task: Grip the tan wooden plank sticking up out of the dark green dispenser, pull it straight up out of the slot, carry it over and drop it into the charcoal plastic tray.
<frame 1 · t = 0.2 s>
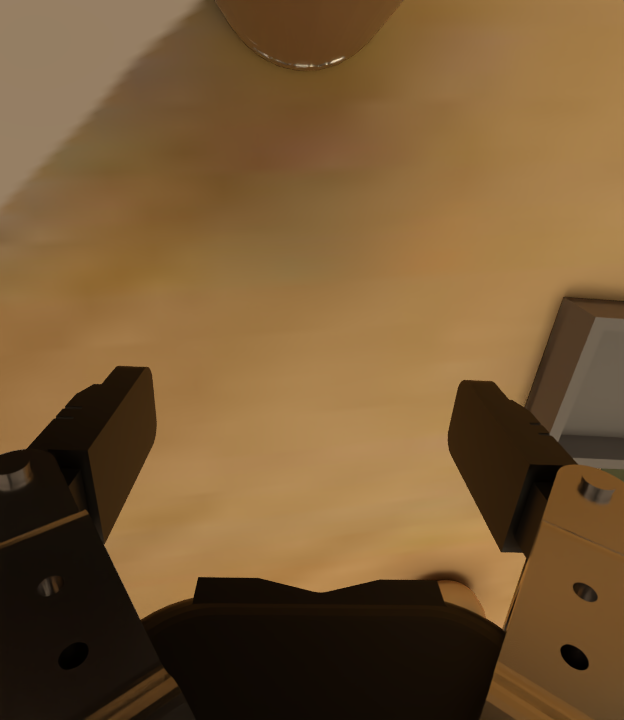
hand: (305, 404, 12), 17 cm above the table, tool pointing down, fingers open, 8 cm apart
plastic bottle: (437, 591, 42), on the table
tray: (618, 376, 32), on the table
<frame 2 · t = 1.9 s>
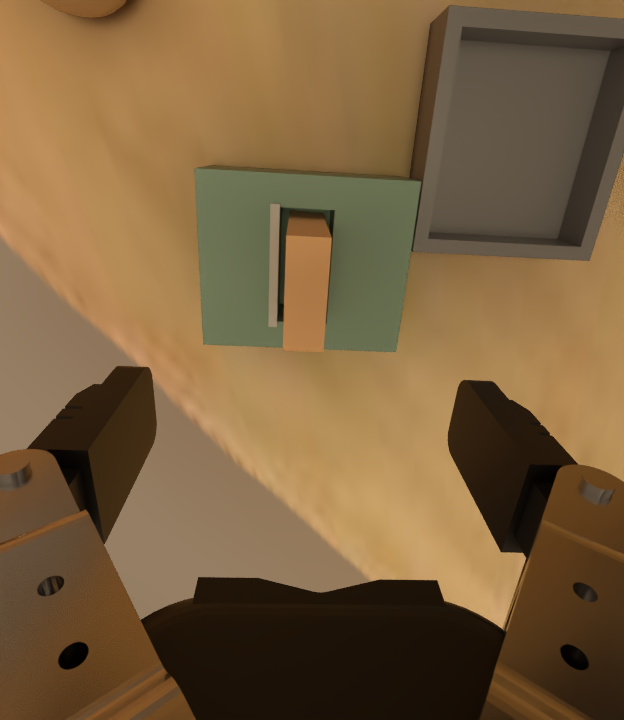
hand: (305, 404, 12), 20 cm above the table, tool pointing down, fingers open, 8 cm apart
dispenser: (303, 251, 30), on the table
tan wooden plank: (303, 255, 29), point 1 cm above the table, touching dispenser
tray: (501, 147, 28), on the table
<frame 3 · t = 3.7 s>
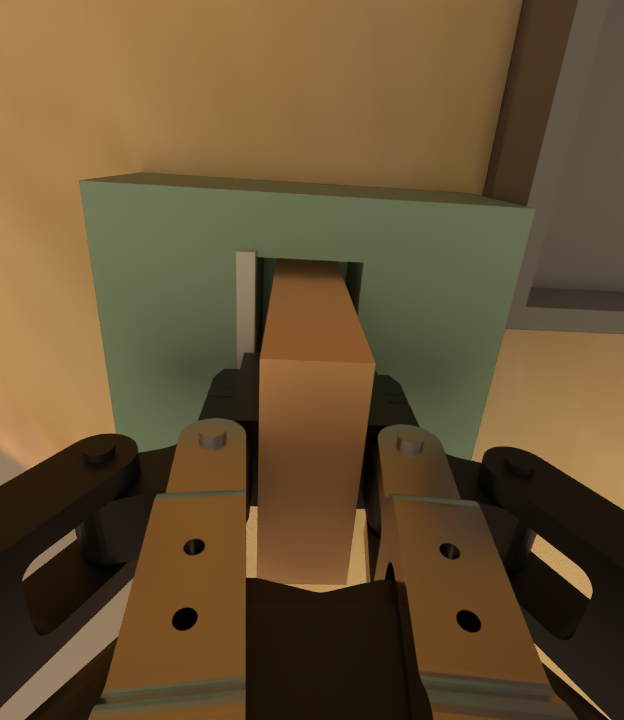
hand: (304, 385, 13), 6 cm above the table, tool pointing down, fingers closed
dispenser: (301, 313, 18), on the table
tan wooden plank: (302, 326, 17), point 1 cm above the table, touching dispenser, gripper
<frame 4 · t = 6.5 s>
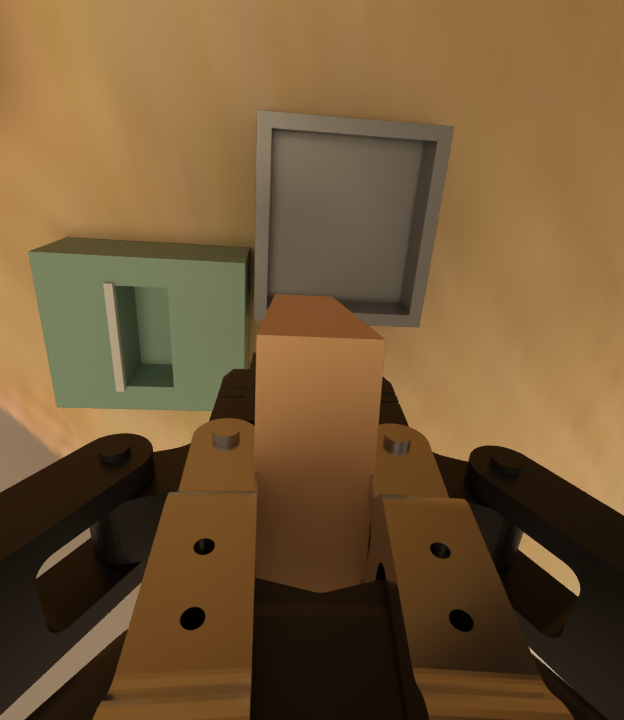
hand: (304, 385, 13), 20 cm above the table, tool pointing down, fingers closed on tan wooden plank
dispenser: (164, 313, 32), on the table
tan wooden plank: (300, 371, 16), point 17 cm above the table, tilted 12°, touching gripper
tray: (339, 222, 30), on the table
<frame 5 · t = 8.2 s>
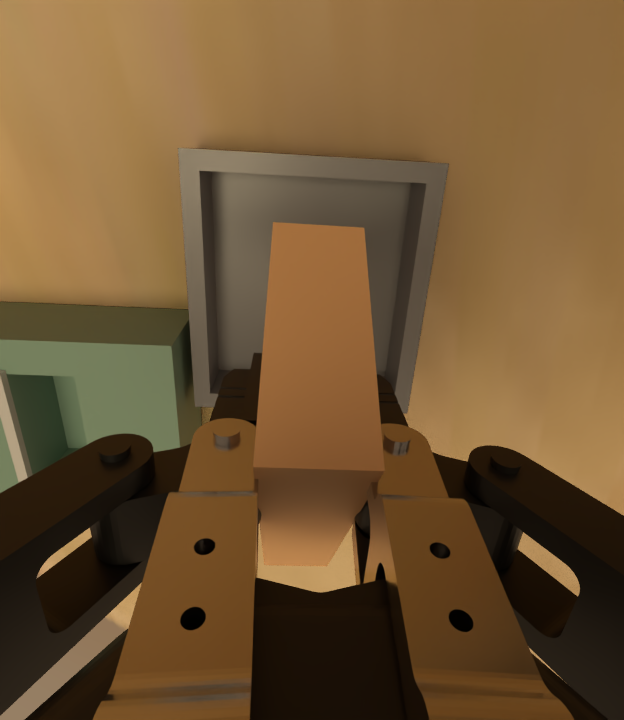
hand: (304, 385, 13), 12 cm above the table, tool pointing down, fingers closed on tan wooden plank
dispenser: (96, 386, 26), on the table
tan wooden plank: (297, 480, 16), point 11 cm above the table, tilted 58°, touching gripper
tray: (306, 278, 24), on the table
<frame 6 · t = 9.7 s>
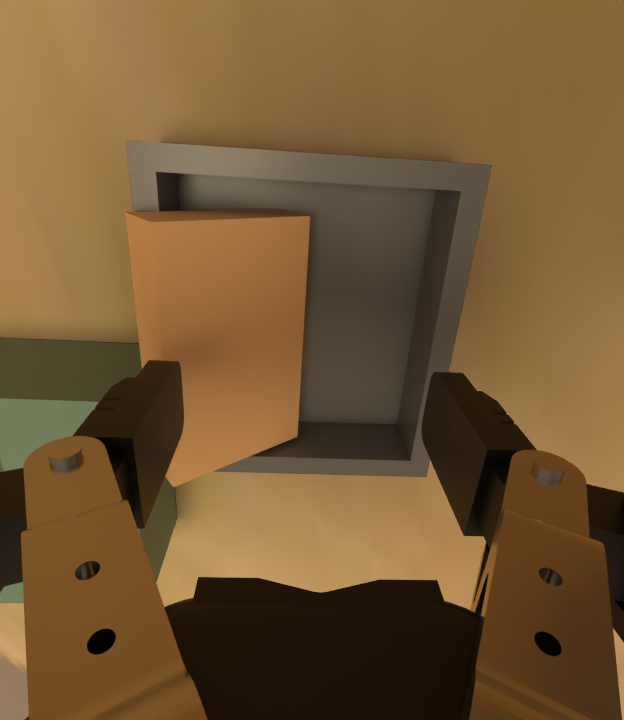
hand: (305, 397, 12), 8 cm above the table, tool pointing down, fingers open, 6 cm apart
dispenser: (42, 435, 21), on the table
tan wooden plank: (228, 447, 18), point 3 cm above the table, tilted 90°, touching tray
tray: (301, 307, 19), on the table
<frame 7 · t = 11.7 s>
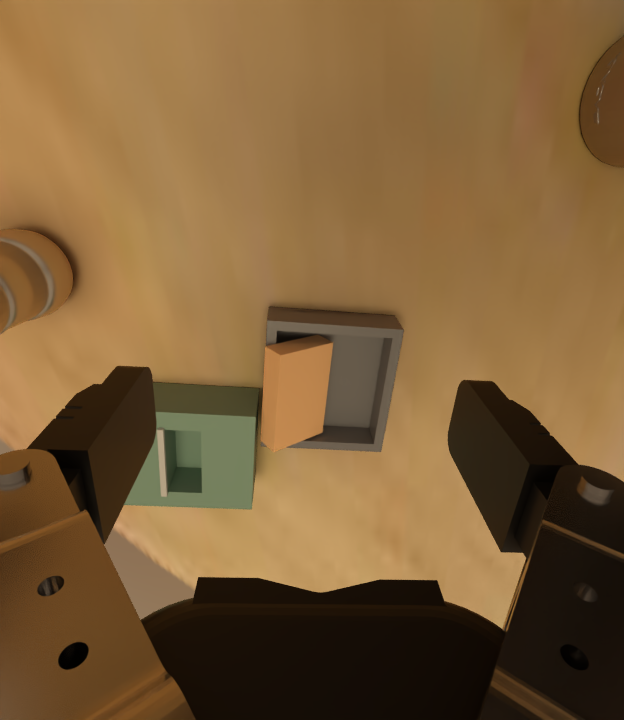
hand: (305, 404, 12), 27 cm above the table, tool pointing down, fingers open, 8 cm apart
plastic bottle: (41, 265, 36), on the table
dispenser: (194, 430, 43), on the table
tan wooden plank: (292, 436, 40), point 3 cm above the table, tilted 90°, touching tray
tray: (325, 372, 41), on the table
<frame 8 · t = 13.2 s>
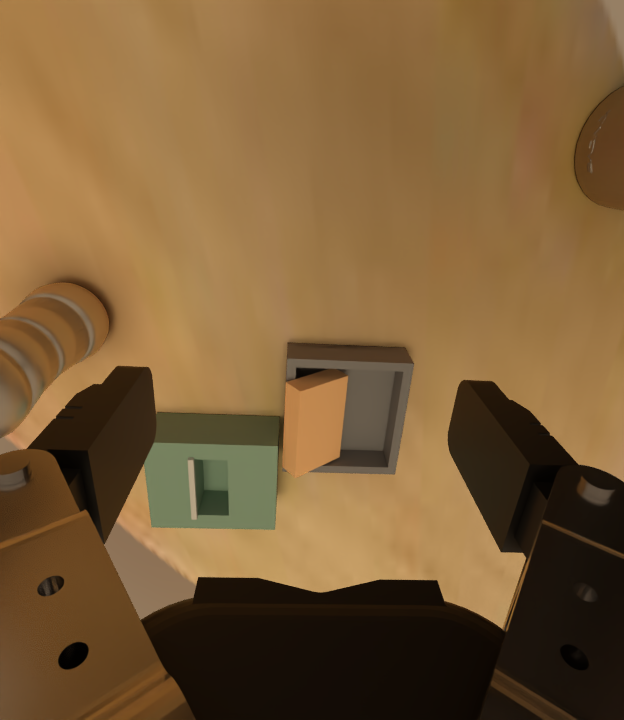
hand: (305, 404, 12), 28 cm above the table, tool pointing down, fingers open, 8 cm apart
plastic bottle: (79, 312, 40), on the table
dispenser: (220, 455, 46), on the table
tan wooden plank: (311, 461, 43), point 3 cm above the table, tilted 90°, touching tray
tray: (341, 401, 44), on the table
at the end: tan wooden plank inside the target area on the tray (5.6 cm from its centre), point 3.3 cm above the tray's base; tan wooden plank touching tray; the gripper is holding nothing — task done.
